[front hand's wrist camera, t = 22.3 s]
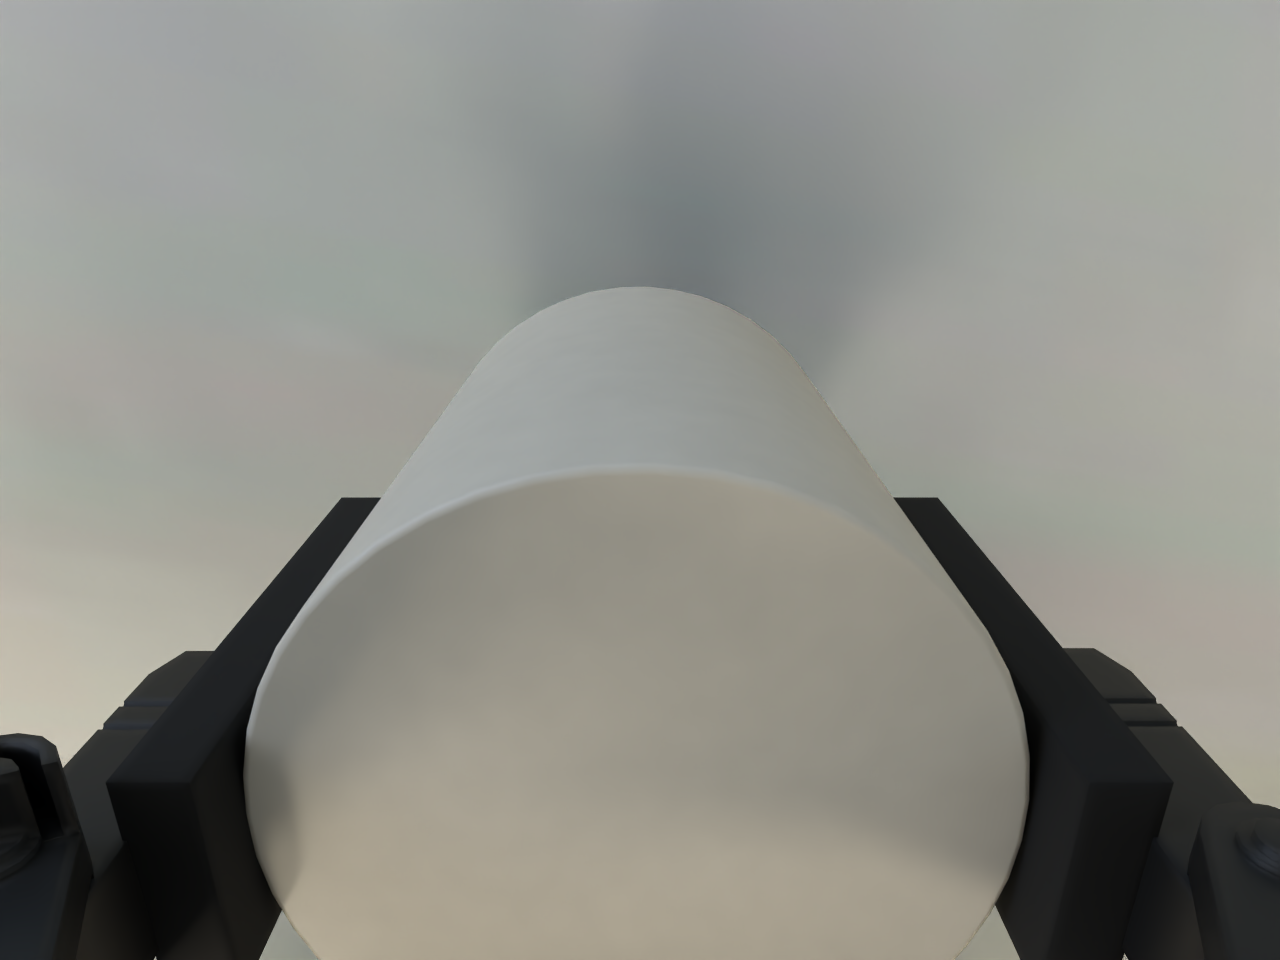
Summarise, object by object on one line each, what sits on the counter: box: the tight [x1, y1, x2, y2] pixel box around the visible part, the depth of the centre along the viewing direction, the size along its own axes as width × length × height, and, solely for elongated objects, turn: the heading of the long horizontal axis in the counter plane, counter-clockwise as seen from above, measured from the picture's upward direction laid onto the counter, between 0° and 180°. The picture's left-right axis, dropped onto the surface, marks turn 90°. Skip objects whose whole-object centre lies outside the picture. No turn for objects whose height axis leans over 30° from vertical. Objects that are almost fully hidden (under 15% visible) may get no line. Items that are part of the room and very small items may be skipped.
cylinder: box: [243, 287, 1030, 960], centre depth 13 cm, size 8×8×10 cm
